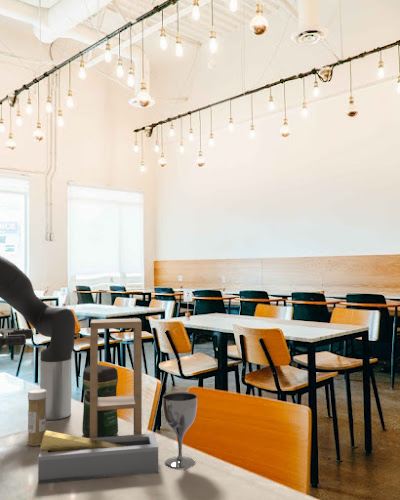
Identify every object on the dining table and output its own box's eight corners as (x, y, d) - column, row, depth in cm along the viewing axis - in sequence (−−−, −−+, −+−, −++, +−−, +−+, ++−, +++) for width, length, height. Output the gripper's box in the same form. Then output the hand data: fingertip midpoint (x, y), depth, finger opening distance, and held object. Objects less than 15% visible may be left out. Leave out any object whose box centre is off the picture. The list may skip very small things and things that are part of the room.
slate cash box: (44, 466, 102) (44, 441, 102) (154, 456, 107) (154, 433, 107) (38, 483, 93) (38, 456, 94) (158, 472, 98) (158, 446, 98)
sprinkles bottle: (48, 444, 116) (48, 390, 116) (29, 447, 113) (30, 393, 114) (43, 438, 119) (44, 387, 120) (25, 442, 117) (26, 389, 118)
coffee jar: (123, 434, 122) (123, 365, 123) (99, 442, 116) (99, 370, 117) (101, 426, 128) (101, 361, 130) (77, 434, 122) (77, 365, 123)
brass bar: (42, 443, 100) (45, 430, 100) (130, 460, 103) (133, 447, 103) (40, 449, 97) (43, 434, 97) (130, 465, 100) (134, 452, 100)
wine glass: (184, 472, 98) (184, 402, 99) (155, 465, 102) (155, 397, 103) (203, 460, 105) (203, 394, 105) (176, 453, 109) (175, 390, 110)
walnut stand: (91, 448, 112) (91, 319, 114) (139, 444, 114) (139, 318, 116) (89, 461, 104) (90, 322, 106) (141, 457, 107) (141, 321, 108)
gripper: (-59, 328, 94) (23, 324, 98) (-37, 320, 108) (33, 317, 112) (-59, 364, 94) (23, 359, 97) (-37, 351, 108) (34, 347, 111)
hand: (29, 336), depth 104 cm, fingers open, 8 cm apart
